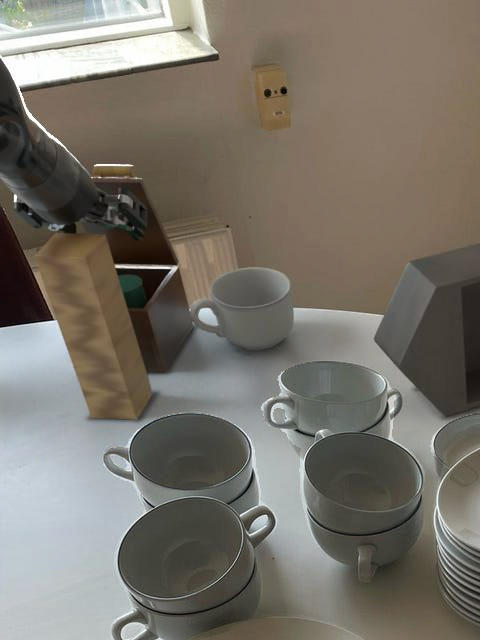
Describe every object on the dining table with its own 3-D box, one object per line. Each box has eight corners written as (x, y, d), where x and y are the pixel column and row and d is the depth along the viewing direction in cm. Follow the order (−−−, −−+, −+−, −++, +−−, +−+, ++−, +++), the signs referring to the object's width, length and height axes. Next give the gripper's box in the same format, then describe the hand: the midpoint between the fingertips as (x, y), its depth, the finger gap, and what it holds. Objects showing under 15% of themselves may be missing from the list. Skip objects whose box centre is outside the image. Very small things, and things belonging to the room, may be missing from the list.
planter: (391, 299, 111) (554, 255, 117) (365, 271, 116) (523, 231, 122) (405, 429, 123) (552, 384, 129) (380, 399, 128) (523, 357, 134)
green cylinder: (115, 355, 136) (95, 292, 130) (128, 336, 140) (110, 273, 134) (152, 356, 136) (133, 293, 129) (164, 337, 139) (147, 274, 133)
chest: (164, 372, 134) (147, 311, 128) (88, 370, 135) (67, 309, 129) (193, 326, 143) (178, 266, 137) (122, 324, 144) (104, 265, 138)
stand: (91, 418, 127) (33, 255, 112) (108, 392, 131) (55, 232, 116) (137, 419, 126) (85, 256, 112) (153, 393, 131) (105, 233, 116)
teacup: (291, 314, 145) (282, 260, 139) (306, 350, 137) (297, 295, 132) (194, 332, 142) (180, 278, 136) (204, 370, 134) (190, 314, 129)
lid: (140, 182, 124) (150, 152, 126) (58, 181, 125) (69, 152, 127) (177, 265, 136) (185, 237, 138) (102, 264, 137) (112, 235, 140)
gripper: (108, 141, 111) (162, 203, 127) (-18, 141, 112) (52, 203, 128) (107, 209, 111) (161, 263, 127) (-19, 209, 112) (51, 263, 128)
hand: (106, 233), depth 128 cm, fingers open, 8 cm apart
